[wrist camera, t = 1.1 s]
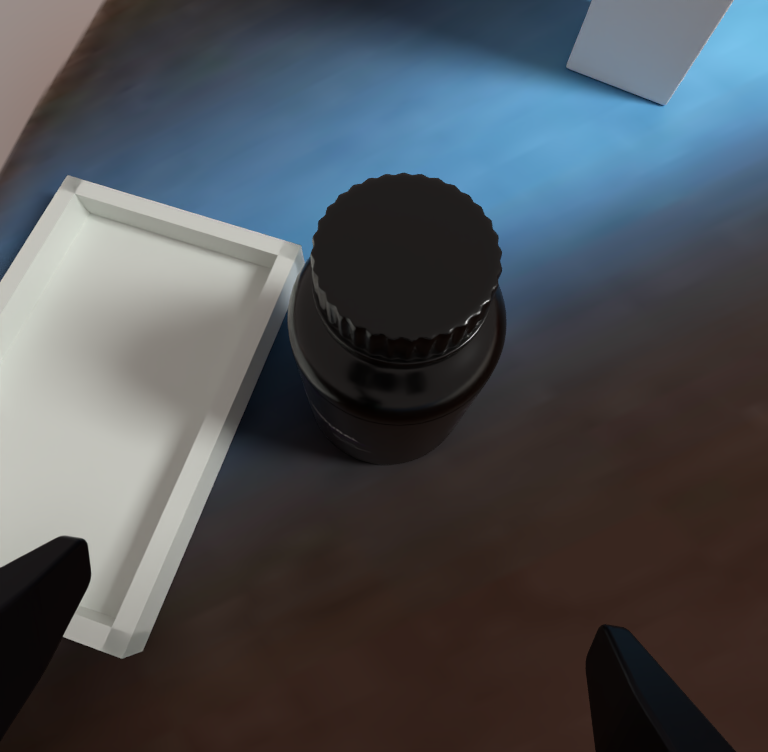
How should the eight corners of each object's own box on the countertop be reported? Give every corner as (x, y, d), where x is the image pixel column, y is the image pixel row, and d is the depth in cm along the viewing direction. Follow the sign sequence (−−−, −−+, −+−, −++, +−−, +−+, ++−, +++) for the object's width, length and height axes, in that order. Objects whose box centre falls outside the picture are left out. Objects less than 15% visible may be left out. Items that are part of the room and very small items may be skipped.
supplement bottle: (292, 449, 24) (225, 344, 13) (331, 309, 26) (303, 113, 15) (448, 484, 24) (523, 408, 12) (474, 340, 26) (558, 163, 15)
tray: (142, 651, 21) (122, 658, 19) (-126, 552, 22) (-169, 551, 20) (305, 267, 27) (301, 245, 25) (86, 200, 28) (67, 175, 26)
